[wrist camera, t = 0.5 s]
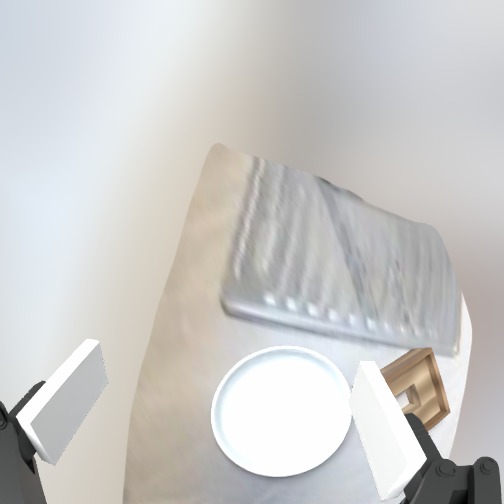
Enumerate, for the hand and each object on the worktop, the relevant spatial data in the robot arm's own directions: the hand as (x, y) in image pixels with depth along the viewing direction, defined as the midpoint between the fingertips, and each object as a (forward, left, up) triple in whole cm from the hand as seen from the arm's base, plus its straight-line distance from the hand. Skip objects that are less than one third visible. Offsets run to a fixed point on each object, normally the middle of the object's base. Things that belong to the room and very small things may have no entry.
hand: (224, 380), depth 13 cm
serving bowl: (-11, -5, -34) cm, 36 cm away
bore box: (-21, -25, -34) cm, 47 cm away
